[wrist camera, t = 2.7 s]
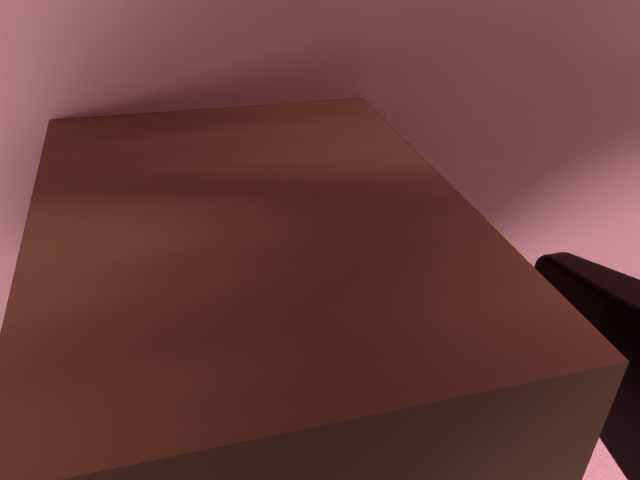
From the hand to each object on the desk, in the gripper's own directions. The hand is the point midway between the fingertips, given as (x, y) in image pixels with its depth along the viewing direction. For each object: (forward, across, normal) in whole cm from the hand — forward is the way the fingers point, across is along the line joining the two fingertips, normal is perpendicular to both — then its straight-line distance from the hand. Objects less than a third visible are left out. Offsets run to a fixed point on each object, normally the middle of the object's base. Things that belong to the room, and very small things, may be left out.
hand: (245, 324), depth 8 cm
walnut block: (+2, 0, 0) cm, 2 cm away
